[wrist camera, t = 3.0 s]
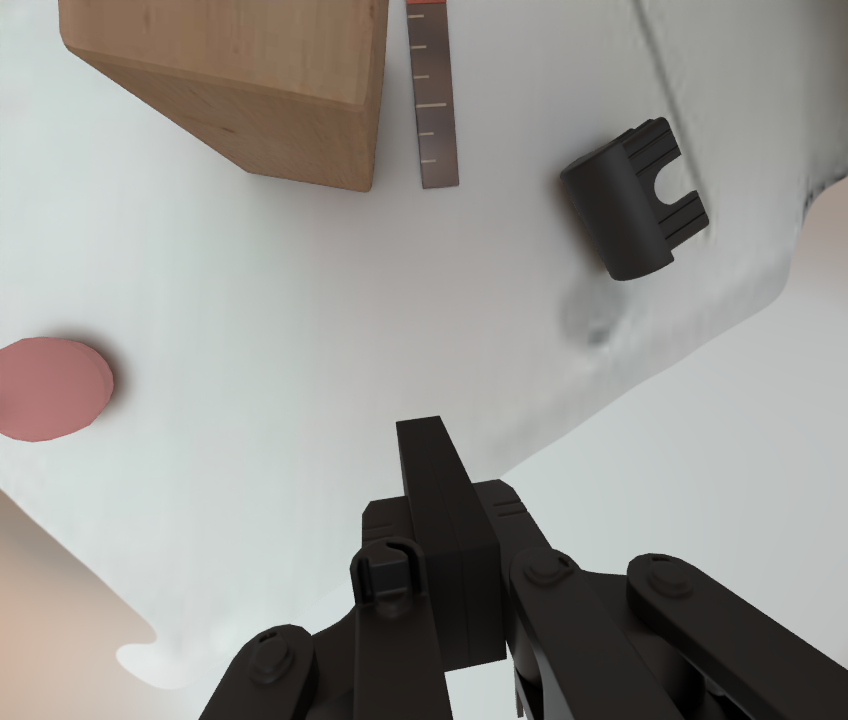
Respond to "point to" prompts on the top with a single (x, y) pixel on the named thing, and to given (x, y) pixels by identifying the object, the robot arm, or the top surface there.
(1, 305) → the top surface
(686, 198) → the end cap
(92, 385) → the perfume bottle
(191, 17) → the wooden block
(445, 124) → the ruler
